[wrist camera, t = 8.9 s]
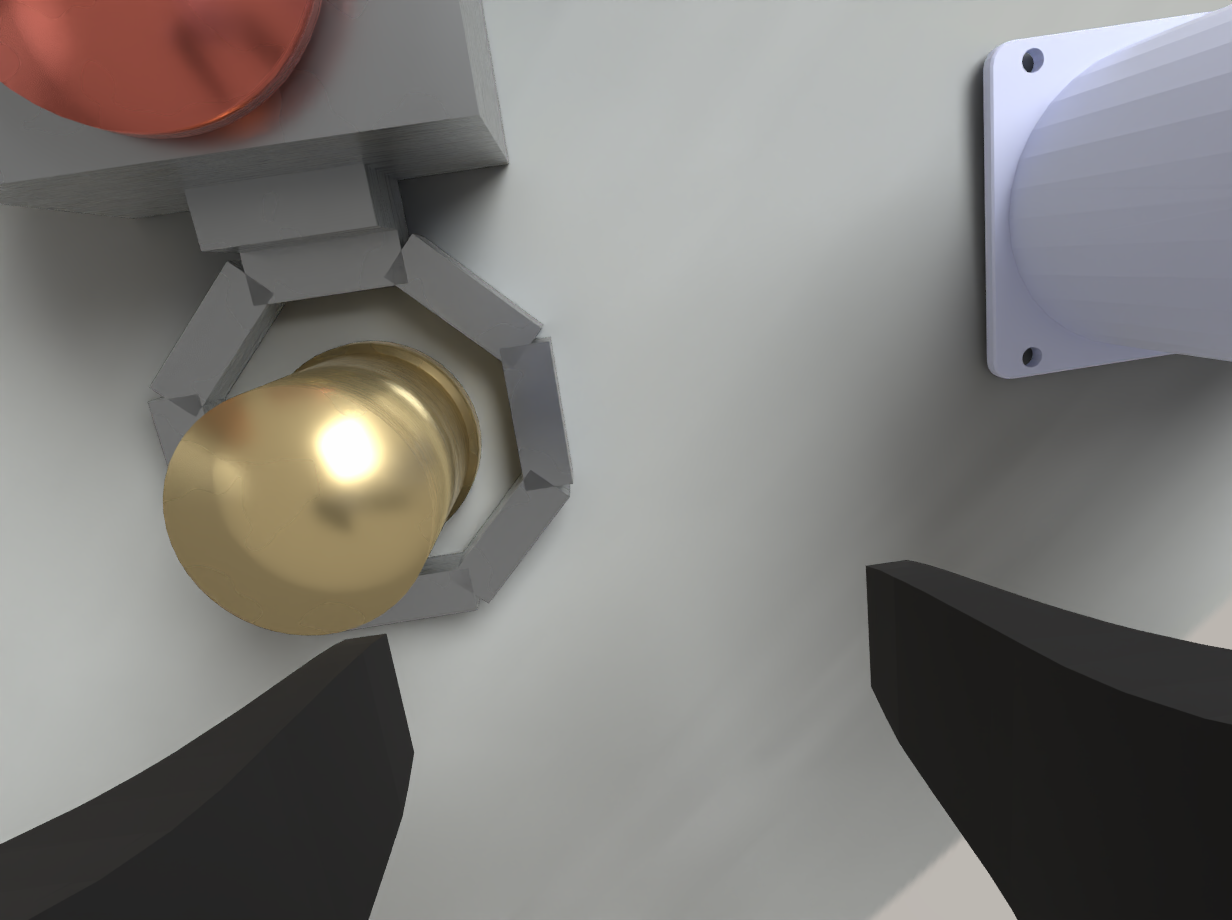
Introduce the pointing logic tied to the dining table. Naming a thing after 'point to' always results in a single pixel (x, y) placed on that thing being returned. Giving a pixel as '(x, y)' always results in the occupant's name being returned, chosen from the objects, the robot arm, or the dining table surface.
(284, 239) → the red button switch
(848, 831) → the dining table surface
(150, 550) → the dining table surface
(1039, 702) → the robot arm
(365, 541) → the knob
